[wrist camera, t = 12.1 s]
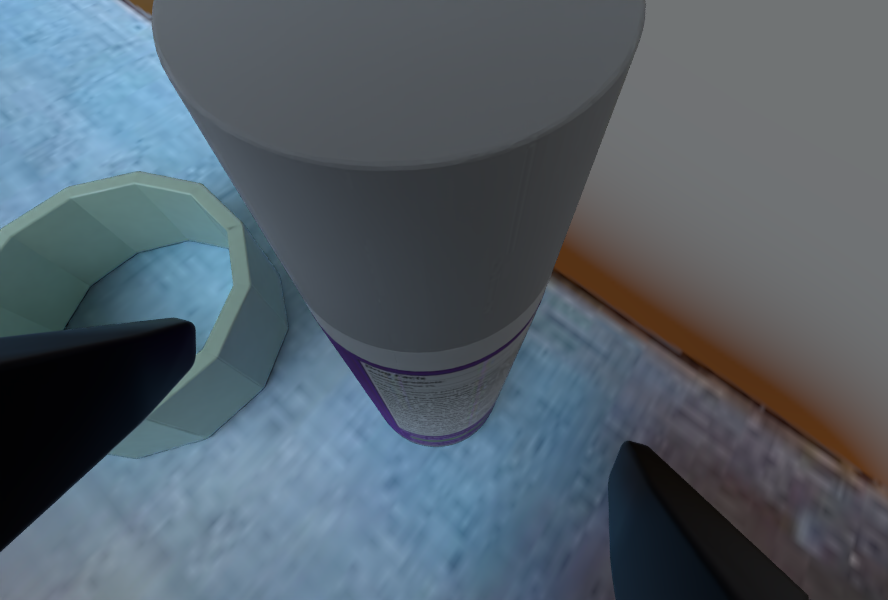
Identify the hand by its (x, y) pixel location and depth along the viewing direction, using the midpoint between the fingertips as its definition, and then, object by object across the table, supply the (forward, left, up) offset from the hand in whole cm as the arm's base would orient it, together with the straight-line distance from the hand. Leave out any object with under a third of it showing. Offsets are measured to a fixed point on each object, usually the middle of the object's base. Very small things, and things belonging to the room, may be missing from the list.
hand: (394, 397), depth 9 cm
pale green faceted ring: (+11, +4, -8) cm, 14 cm away
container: (+1, -2, -9) cm, 9 cm away
